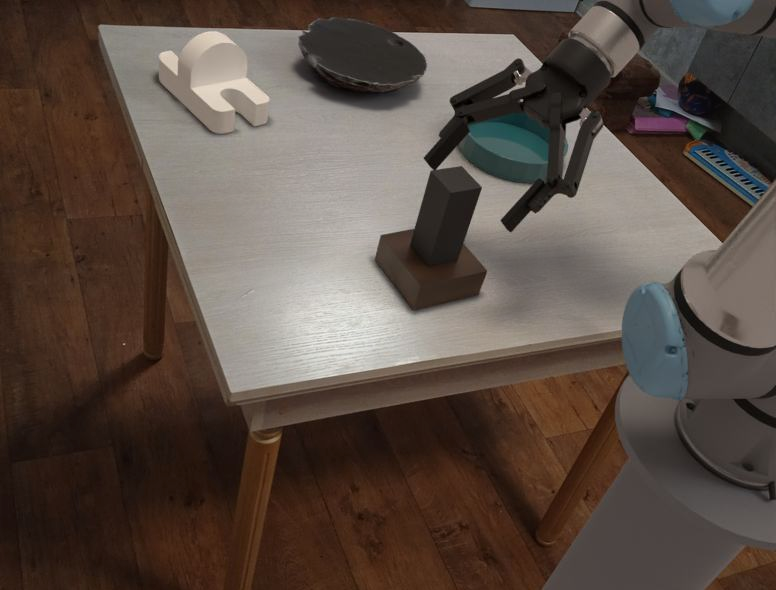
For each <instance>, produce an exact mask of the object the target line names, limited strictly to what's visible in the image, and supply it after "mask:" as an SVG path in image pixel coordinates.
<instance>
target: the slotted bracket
mask: <svg viewBox="0 0 776 590" xmlns="http://www.w3.org/2000/svg"><path fill="white" fill-rule="evenodd" d="M248 64H249V61H248V57H247V55H246V53H245V51H244V50H243V49H242V48H241V47H240V46H239V45H238V44H236V43H235V42H234V41H233V40H232V39H231V38H229V37H228V36H227V35H226V34H225V33H221V32H219V31H217V30H216V31H215V30H213V31H211V30H210V31H209V30H208V31H205V32H202V33H199V34H197V35H196V36H194V37H192V38H191V39H190V40H189V41H188V42H187V43H186V44H185V45H184V47H183V48H182V51H181V52H180V54H179V56H178V55H177V54H176V53H174V52H173V50H166V51H161V53H159V54H158V81H159V83H160V84H161V85H162V86H163V87H164V88H165V89H166V90H167V91H169V92H170V93H171V94H172V95H173V96H174V98H176V99H177V100H178V101H179V102H180V103H181V104H182V105H183V106H184V107H185V108H186V109H187V110H188V111H190V112H191V113H192V115H193V116H195V117H196V118H197V119H198V120H199V121H200V122H201V123H202V124H203V125H204V126H205V127H206V128H207V129H208V130H209V131H211V132H212V133H215V134H218V135H219V134H220V135H223V134H228V133H232V132H234V131H235V121H236V120H235V119H236V113H238V114H240V115H241V116H242V117H243V118H244V119H246V121H248V122H249V123H250V124H251V125H252V126H253V127H258V126H264V125H265V124H267V123H268V119H269V110H270V101H271V98H270V96H268V94H266V93H265V92H264V91H263V90H261V88H260V87H258V86H257V85H256V84H254V82H253V81H251V80H250V79H249V78H248V77H247V76H248V66H249V65H248Z"/></svg>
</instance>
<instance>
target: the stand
mask: <svg viewBox="0 0 776 590" xmlns="http://www.w3.org/2000/svg"><path fill="white" fill-rule="evenodd" d="M414 229H415V228H411V229H405V230H399V231H395V232H389V233H384V234H380V237H379V240H378V245H377V249H376V252H375V256H374V260H375V262H376V263H377V264H378V266H379V267H380V268H381V270H382V271H383V272H384V274H385V275H386V277H388V279H389V280H390V281H391V283H392V285H394V287H395V288H396V289H397V291H398V292H399V293H400V294H401V296H402V298H403V299H404V300H405V301H406V302H407V304H408V305H409V306H410V308H411V309H412V310H413V311H416V310H420V309H424V308H428V307H433V306H437V305H441V304H445V303H449V302H454V301H457V300H461V299H467V298H470V297H474V296H478V295H480V292H481V289H482V287H483V284H484V281H485V279H486V276H487V273H488V270H487V269H486V267H485V266H484V265H483V264H482V262H481V261H479V259H478V258H477V257H476V256H475V254H473V252H472V251H471V250H470V248H469V247H467V245H466V244H465V242H464V243H463V246H462V249H461V252H460V255H459V258H458V260H457V261H452V262H447V263H443V264H438V265H433V266H427V264H426V263H425V262H424V261H423V259H422V258H421V257H420V256H419V255H418V253H417V252H416V251H415V250H414V248H413V247H412V246H411V245H410V243H411V240H412V236H413V232H414Z"/></svg>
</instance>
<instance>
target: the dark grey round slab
mask: <svg viewBox="0 0 776 590" xmlns="http://www.w3.org/2000/svg"><path fill="white" fill-rule="evenodd" d="M307 30H308V31H305V30H301V32H302V34H301V35H298V36H297V38H298V42H297V44H298V47H299V49H300V52H301V54H302V55H303V57H304V59H305V60H306V61H307V62H308V64H309V65H310V66H311V67H312V68H314V69H315V70H316V71H317V72H318V74H319V76H320V78H322V79H323V80H325V82H326V83H328V84H329V85H330V86H333V87H335V88H344V89H347V90H351V91H354V92H372V93H385V92H395V91H398V90H399V89H400V88H403V87H408V86H410V85H411V84H413V83H415V82H416V81H419V80H420V79H421V78H423V77H424V76H425V73H426V72H427V68H428V63H427V59H426V57H425V55H424V54H423V53H422V52H421V51H420V50H419V49H418V47H416V46H415V45H414V44H413V43H411V41H409V40H407V39H405V38H403V37H402V36H400V35H398V34H397V33H395V32H393V31H391V30H389V29H387V28H384V27H382V26H380V25H376V24H373V23H370V22H367V21H363V20H358V19H356V18H355V19H353V18H340V17H335V16H334V17H331V18H329V19H325V18H317V19H316V20H313V21H312V22H311V23H310V24H308V27H307Z"/></svg>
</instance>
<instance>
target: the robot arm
mask: <svg viewBox="0 0 776 590" xmlns="http://www.w3.org/2000/svg"><path fill="white" fill-rule="evenodd" d="M662 28H663V29H671V28H672V29H673V28H695V29H696V28H697V29H703V30H711V31H718V32H725V33H732V34H741V35H749V36H759V37H765V38H772V39H776V0H597V1H596V3H594V4H593V6H591V7H590V9H589V10H588V11H587V12H586V13H585V15H583V16H582V18H581V19H580V20H579V21H578V22H577V23H576V24H575V25H574V26H573V27H572V28H571V29H570V31H569V32H568V38H563V39H561V41H560V42H559V44H558V45H556V47H555V48H554V49H553V50H552V51H551V52H550V53H549V54H548V55H547V57H546V58H545V59H544V60H543V63H542V65H541V66H540V68H538V69H537V70H535V71H534V72H532V71H531V70H530V69H529V68H527V67H526V65H525V63H524V61H523V59H522V58H516V59H514V60H513V61H512V62H511V63H509V64H508V65H507V67H506V68H505V69H503V70H501V71H499V72H497V73H496V74H494V75H491V76H490V77H488V78H485V79H484V80H482V81H479V82H477V83H476V84H474V85H472V86H470V87H468V88H466V89H464V90H462V91H460V92H458V93H456V94H454V95H452V96H451V97H450V98H449V104H450V106H451V108H452V109H453V111H454V113H453V114H454V115H453V116H452V117H451V119H449V120H448V122H447V123H446V124H445V125H444V126H443V127H442V129H441V130H440V131H439V133H438V137H439V139H438V141H437V142H436V143H435V144H434V145H433V146H432V147H431V148H430V150H429V151H428V152H427V153H426V154H425V155H424V157H423V160H424V161H425V162H426V164H427V165H428V166H429V167H430V168H431V169H432V170H438V169H439V167H440V166H441V165H442V164H443V163H444V161H445V160H446V159H447V158H448V157H450V155H451V153H452V152H453V151H454V150H455V149H456V148H457V147H459V146H458V144H459V143H460V142H461V141H462V140H463V139H464V138H465V137H466V135H467V134H468V133H469V132H470V130H469V129H468V128H469V127H468V125H470V124H474V123H478V122H482V121H486V120H489V119H493V118H497V117H501V116H505V115H508V114H512V113H517V114H521V113H525V112H526V114H527V116H528V117H529V118H531V119H532V120H535V121H538V122H539V124H540V125H541V126H542V127H543V128H545V129H547V128H549V129H550V137H549V152H548V167H547V178H546V177H545V179H546V181H543V180H542V179H540V178H538V179H537V181H536V182H535V183H532V185H531V186H530V187H529V188H527V190H526V191H525V192H524V193H523V195H522V196H521V197H520V198H519V199H518V200H517V201H516V202H515V204H513V205H512V207H511V208H510V209H509V210H508V211H507V212H505V214H504V215H503V216H502V217H501V219H500V220H499V221H500V222H501V224H502V225H503V227H504V228H505V230H506V231H508V232H509V233H512V232H513V231H514V230H515V229H516V228H517V227H518V226H519V224H520V223H521V222H523V220H524V219H525V218H527V216H528V215H529V214H530V213H531V212H532V213H534V214H537V213H539V212H540V211H541V210H542V209H543V208H544V207H545V206H546V205H547V204H548V203H549V202H550V201H551V200H552V198H553V197H555V196H556V195H558V194H559V195H564V196H566V197H567V198H569V199H572V198H574V197H576V195H578V191H579V188H580V184H581V181H582V177H583V175H584V171H585V168H586V165H587V162H588V159H589V156H590V153H591V150H592V147H593V144H594V141H595V139H596V137H597V136H598V134H600V132H601V130H602V129H603V128H604V121H603V118H602V115H601V112H600V111H599V110H598V109H597V110H596V109H595V110H592V111H591V110H589V109H587V107H588V106H589V105H590V104H592V103H593V102H595V100H596V99H597V98H598V97H599V96H600V95H601V94H602V93H603V91H604V90H605V89H606V88H607V87H608V86H609V85H610V84H611V78H615V77H616V76H618V75H619V73H620V72H621V71H622V70H623V69H624V68H625V67H626V66H627V65H628V63H629V62H630V61H631V60H632V59H633V58H634V57H635V56H636V55H637V54H638V52H640V51H641V50H642V48H643V47H644V46H645V45H646V44H647V43H648V42H649V40H651V38H652V37H653V36H654V35H655V34H656V33H657V32H658V31H659V30H660V29H662ZM524 83H525V84H524ZM523 84H524V86H523V87H520V88H519V87H518V88H516V89H514V87H516V86H517V85H518V86H522V85H523ZM511 89H512V90H511ZM510 90H511V91H510ZM508 91H510V92H509V93H507V94H504V93H505V92H508ZM502 94H503V95H502ZM521 100H522V101H521ZM579 120H580V121H579ZM577 121H579V126H580V128H579V130H578V133H577V135H576V139H575V142H574V146H573V148H572V150H571V154H570V158H569V161H568V164H567V167H566V170H565V173H564V176H563V171H564V170H563V169H564V162H563V156H564V140H565V138H566V139H567V124H571V123H575V122H577ZM621 348H622V354H623V358H624V363H625V366H626V369H627V371H628V375H629V374H630V376H631V378H632V379H633V381H634V383H635V384H636V385H637V386H638V388H639V389H641V390H642V391H643V392H645V393H647V394H649V395H650V396H653V397H663V398H672V399H674V400H680V402H679V403H678V405H677V407H676V409H675V414H674V422H675V427H676V431H677V433H678V436H679V438H680V440H681V442H682V443H683V445H684V447H685V448H686V449H687V451H688V452H689V453H690V454H691V455H692V457H693V458H694V459H695V460H696V461H697V462H698V463H700V464H701V465H702V466H703V467H704V468H705V469H707V470H708V471H710V472H711V473H712V474H714V475H716V476H717V477H719V478H721V479H722V480H724V481H726V482H729V483H731V484H733V485H736V486H739V487H742V488H746V489H750V490H757V491H769V498H770V500H776V491H775V489H776V178H775V179H774V180H773V182H771V184H770V185H769V186H768V187H767V188H766V190H765V191H764V192H763V194H762V195H760V197H759V199H757V201H756V202H755V203H754V204H753V206H752V207H751V208H750V210H749V211H748V212H747V213H746V214H745V215H744V217H743V218H742V219H741V220H740V222H738V224H737V225H736V226H735V227H734V229H733V230H732V231H731V232H730V234H729V235H728V236H727V237H726V239H725V240H724V241H723V242H722V244H720V246H719V247H718V248H717V249H709V250H704V251H703V250H702V251H701V252H698V253H695V254H694V255H693V256H691V257H690V258H689V259H688V260H687V261H686V262H685V263H684V265H683V266H682V267H681V269H680V270H679V271H678V272H677V273H676V275H675V276H674V278H672V280H670V281H669V282H665V283H661V282H660V281H651V282H646V283H642V284H640V285H639V286H637V287H636V288H634V290H633V291H632V292H631V294H630V295H629V297H628V299H627V301H626V303H625V306H624V310H623V314H622V320H621Z"/></svg>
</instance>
